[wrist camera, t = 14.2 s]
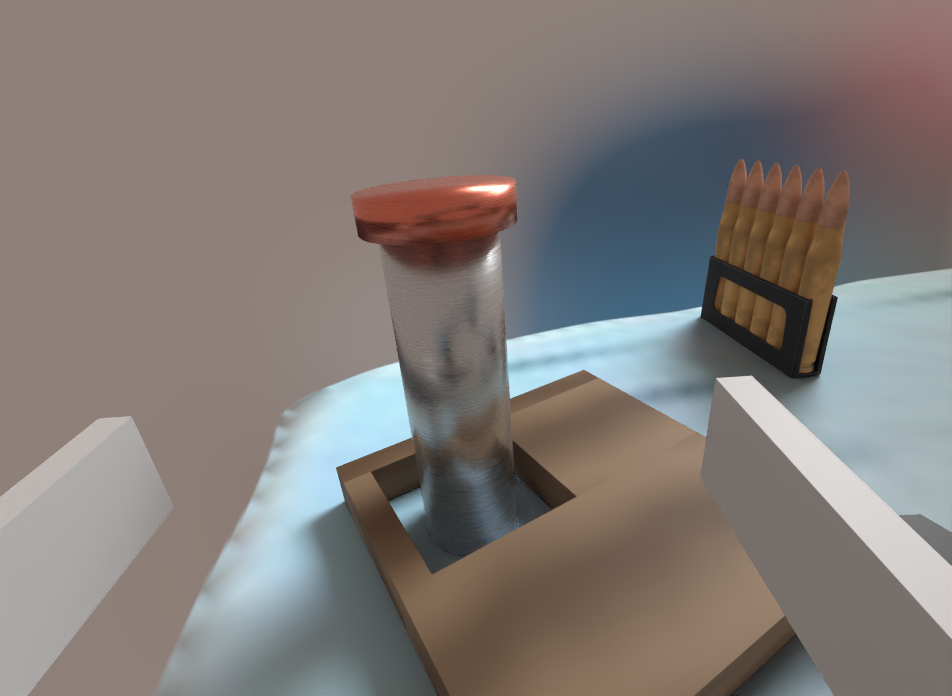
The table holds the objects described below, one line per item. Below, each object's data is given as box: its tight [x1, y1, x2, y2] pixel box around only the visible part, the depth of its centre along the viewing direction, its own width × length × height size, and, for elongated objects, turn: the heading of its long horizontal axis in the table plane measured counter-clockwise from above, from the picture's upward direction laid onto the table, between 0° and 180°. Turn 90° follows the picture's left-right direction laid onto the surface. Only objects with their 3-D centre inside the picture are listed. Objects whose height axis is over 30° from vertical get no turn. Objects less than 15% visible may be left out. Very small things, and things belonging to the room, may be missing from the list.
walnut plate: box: [336, 370, 796, 696], centre depth 20 cm, size 15×15×2 cm
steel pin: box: [351, 175, 517, 556], centre depth 18 cm, size 5×5×14 cm
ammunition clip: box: [701, 159, 849, 378], centre depth 32 cm, size 11×2×12 cm, turn 7°
